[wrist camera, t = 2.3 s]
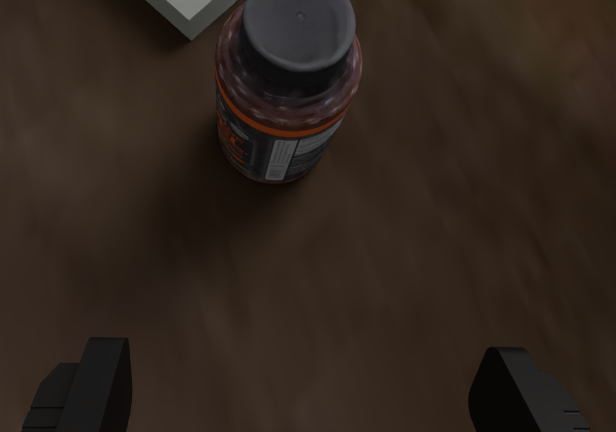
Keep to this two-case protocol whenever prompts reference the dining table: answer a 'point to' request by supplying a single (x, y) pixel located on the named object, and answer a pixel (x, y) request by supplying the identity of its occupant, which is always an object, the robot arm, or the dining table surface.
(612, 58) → the dining table surface
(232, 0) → the press
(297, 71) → the supplement bottle
